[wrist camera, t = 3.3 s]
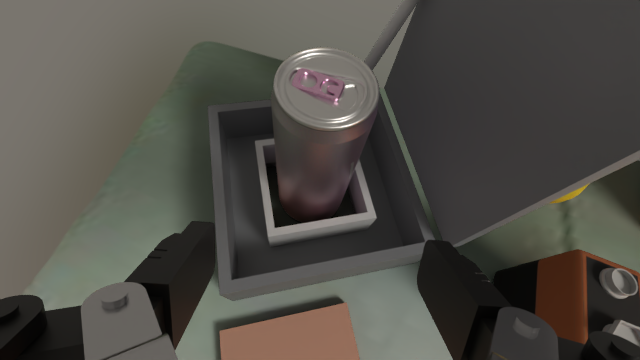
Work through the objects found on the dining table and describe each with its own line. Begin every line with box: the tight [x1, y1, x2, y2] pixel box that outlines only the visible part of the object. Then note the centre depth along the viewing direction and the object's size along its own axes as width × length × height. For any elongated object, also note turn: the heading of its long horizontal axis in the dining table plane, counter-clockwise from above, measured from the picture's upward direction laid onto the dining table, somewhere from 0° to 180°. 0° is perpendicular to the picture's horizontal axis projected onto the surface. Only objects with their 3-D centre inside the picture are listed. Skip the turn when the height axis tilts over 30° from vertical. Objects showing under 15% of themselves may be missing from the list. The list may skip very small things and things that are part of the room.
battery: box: [493, 249, 640, 347], centre depth 21 cm, size 4×7×10 cm, turn 158°
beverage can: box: [271, 47, 379, 223], centre depth 23 cm, size 6×6×15 cm
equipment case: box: [208, 0, 640, 301], centre depth 19 cm, size 18×16×23 cm
